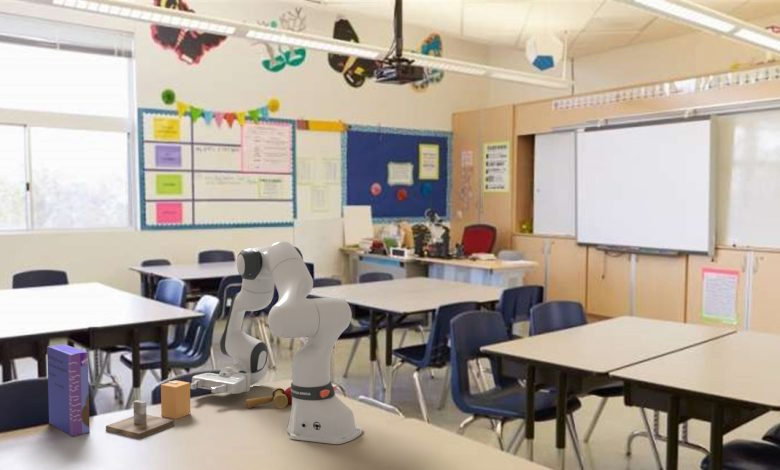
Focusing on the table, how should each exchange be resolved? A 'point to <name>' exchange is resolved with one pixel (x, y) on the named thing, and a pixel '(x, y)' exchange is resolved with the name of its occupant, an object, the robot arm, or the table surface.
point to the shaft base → (138, 428)
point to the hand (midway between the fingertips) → (202, 388)
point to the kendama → (273, 399)
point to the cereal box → (68, 389)
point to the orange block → (175, 399)
